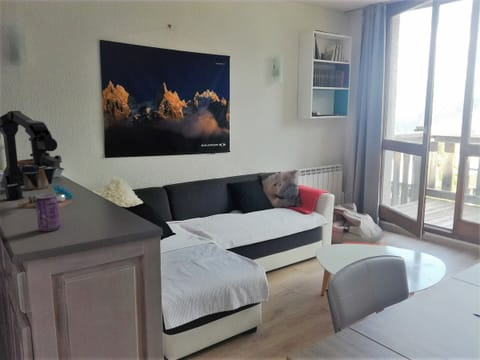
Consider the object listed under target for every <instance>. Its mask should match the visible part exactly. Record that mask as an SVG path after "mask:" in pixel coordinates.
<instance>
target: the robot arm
mask: <svg viewBox="0 0 480 360" xmlns="http://www.w3.org/2000/svg"><path fill="white" fill-rule="evenodd" d="M19 126H21V128H22V127H23V128H24V130H25V131H24V132H25V133H26V134H27V135H28V136H29V138H28V141H29V142H30V145H31V153H30V154H29V156H30V157H32V159H33V163H31V165H26V166H22V167H21V169H20V168H19V166H18V161H19V160H18V153H17V141H16V135H17V133H18V131H19ZM0 134H1V135H2V139H3V145H4V146H3V147H4V155H5V164H6V166H5V169H4V170H3V176H2V179H1V181H0V187H1V189H5V190H4V191H5V197H6V198H4V199H3V200H4V201H17V200H20V199H21V200H22V199H24V198H25V196H24V195H23V190H22V187H24V175H23V173H24V174H25V175H26V176H27V177H28V178H29V179H30V181H31V182H32V184H33V185H34V186H35V188H38V175H39V173H40V172H38V171H39V169H42V168H45V169H44V172H45V175H46V178H47V181H48V185H51V184H52V183H53V178H54V175H55V172H56V171H57V170H59V168H60V167H61V164H62V163H63V161H62V156H61V155H58V154H57V155H55V156H51V154H50V152H54V151H55V150H56V149H57V148H58V141H56V139H55V138H53V136H52V133H51V132H50V130H49V128H48V127H47V125H46V123H45V122H43V121H41V120H40V121H39V120H34V119H32V118H30V117H29V116H27V115H25V114H24V113H22V112H21V110H9V111H8V112H6V113H4V114H3V115H0ZM21 186H22V187H21Z"/></svg>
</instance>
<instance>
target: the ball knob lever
mask: <svg viewBox="0 0 480 360" xmlns="http://www.w3.org/2000/svg"><path fill="white" fill-rule="evenodd" d="M47 194H48V193H47ZM47 194H44V193H43V194H41V193H36V194H35V193H34V194H32V195H31V196H32V203H35V202H36V199H37V198H36V197H37V196H40V195H47ZM54 194H55V195H56V198H57V199H58V203H62V202H65V199H66V196H65V194H56V193H54Z"/></svg>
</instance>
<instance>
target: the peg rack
mask: <svg viewBox="0 0 480 360" xmlns="http://www.w3.org/2000/svg"><path fill="white" fill-rule="evenodd" d="M72 203H73V198H67V199H66V198H65V202H62V203H58V205H59V209H60V208H63V207H64V206H67V205H71V204H72ZM17 207H18V208H20V209H21V208H24V209H25V208H26V209H27V208H29V209H34V208H35V209H36V204H35V203H32V195H30V196H28V200H27V201H24V202H20V203H18V204H17Z"/></svg>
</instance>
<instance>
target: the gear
mask: <svg viewBox="0 0 480 360" xmlns="http://www.w3.org/2000/svg"><path fill="white" fill-rule="evenodd" d="M52 188H53V191H55V193H54V194H65V198H67V199H73V198H74V195H73V193H72V192H70V190H68V189H67V190H66V188H64V187H61V186H60V185H54V186H52Z"/></svg>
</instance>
